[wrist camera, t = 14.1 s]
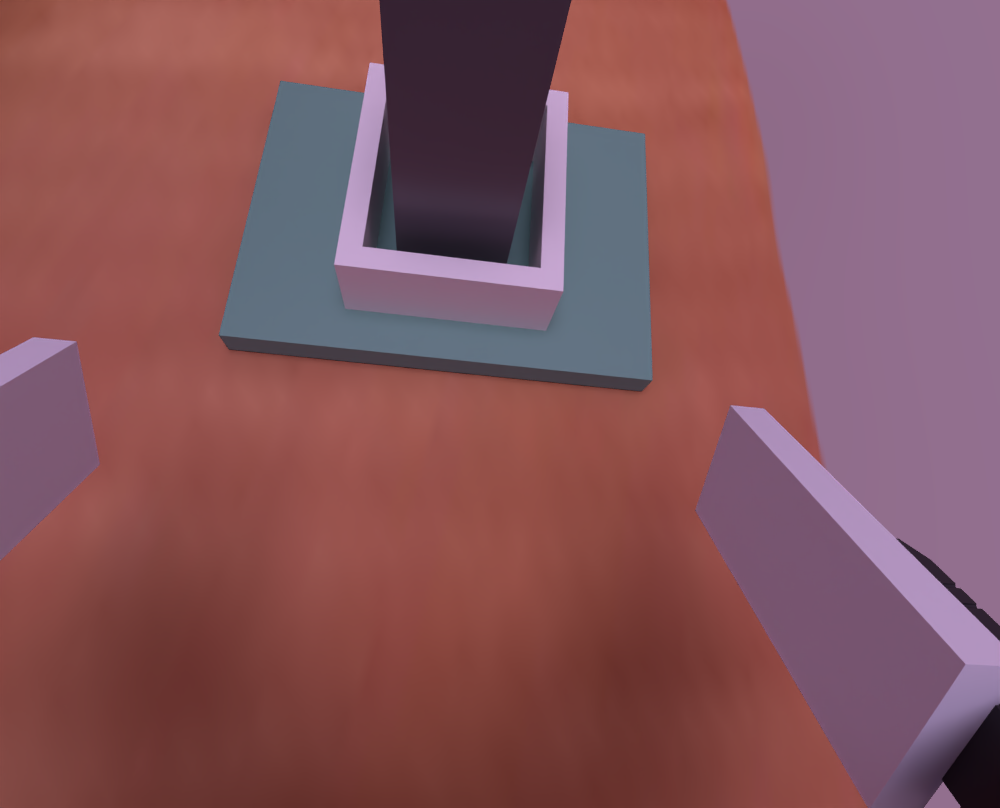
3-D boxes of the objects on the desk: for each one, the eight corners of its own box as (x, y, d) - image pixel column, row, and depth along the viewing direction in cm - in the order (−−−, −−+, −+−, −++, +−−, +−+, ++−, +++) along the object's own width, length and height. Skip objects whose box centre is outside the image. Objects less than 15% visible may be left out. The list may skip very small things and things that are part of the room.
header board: (228, 349, 22) (187, 292, 18) (286, 103, 26) (263, 14, 22) (641, 391, 24) (685, 347, 20) (635, 153, 28) (671, 77, 24)
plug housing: (398, 274, 23) (376, -53, 12) (411, 165, 25) (403, -211, 13) (501, 285, 23) (576, -20, 12) (507, 177, 25) (577, -178, 14)
